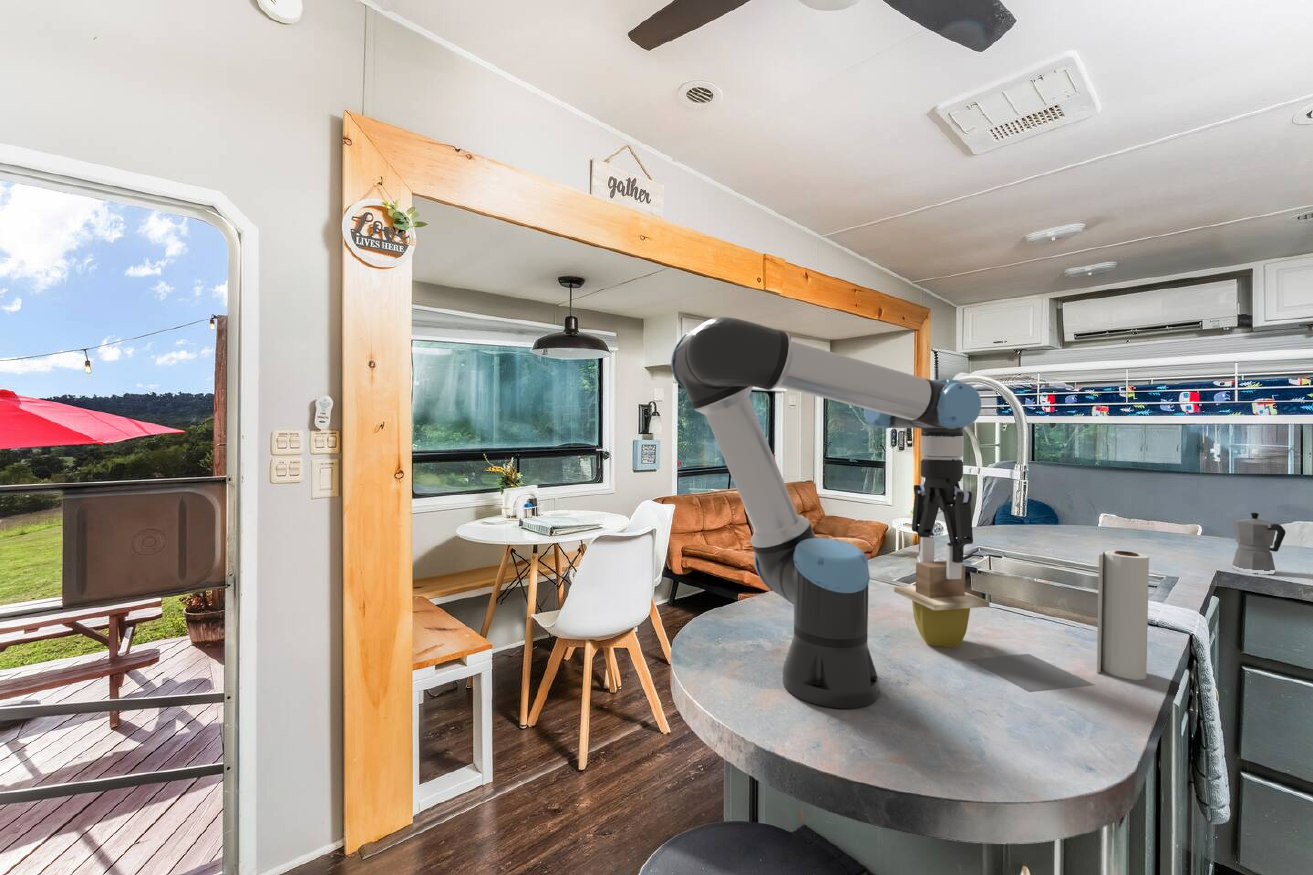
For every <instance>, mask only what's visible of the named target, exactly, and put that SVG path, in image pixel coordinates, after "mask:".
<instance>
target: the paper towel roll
mask: <svg viewBox="0 0 1313 875" xmlns="http://www.w3.org/2000/svg"><path fill="white" fill-rule="evenodd" d="M1149 570H1150V556H1149V555H1147V554H1143V553H1141V552H1140V553H1138V552H1133V551H1127V550H1105V551H1102V552H1101V553H1099V555H1098V584H1097V585H1098V593H1097V632H1096V634H1097V638H1096V641H1097V642H1096V674H1099V673H1101V672H1102V671H1101V670H1104V672H1105V673H1108V674H1110V675H1112V676H1115V677H1119V678H1122V679H1127V680H1134V681H1143V680H1146V679H1147V675H1148V673H1147V667H1148V666H1147V665H1148V624H1149V621H1148V619H1149V618H1148V617H1149V583H1150V582H1149V578H1150V577H1149V576H1150V574H1149V572H1150V571H1149Z"/></svg>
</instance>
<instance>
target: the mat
mask: <svg viewBox="0 0 1313 875" xmlns="http://www.w3.org/2000/svg"><path fill="white" fill-rule="evenodd" d="M968 660H970V661H971V662H973V663H975V664H977V665H978V666H980V667H982V668H984V669H985V670H987V671H989V672H992V673H993V674H995V675H996V676H999V677H1000V678H1003V679H1004V680H1006V681H1008V682H1010V683H1012V684H1013V685H1015V686H1017V687H1019V688H1021V689H1023V690H1024V691H1027V692H1028V693H1032V692H1033V693H1034V692H1040V691H1041V692H1043V691H1050V690H1060V689H1061V690H1063V689H1070V688H1071V689H1072V688H1079V687H1080V688H1081V687H1089V686H1096V684H1094V683H1093V682H1090V681H1088V680H1086V679H1084V678H1082V677H1080V676H1077V675H1075V674H1072V673H1071V672H1068V671H1066V670H1065V669H1062V668H1060V667H1058V666H1056V665H1054V664H1053V663H1052V664H1051V663H1050V662H1047V661H1045V660H1042V659H1041V658H1038V657H1037V656H1034V655H1032V654H1031V653H1022V654H1021V653H1020V654H1011V655H998V656H987V657H986V656H985V657H975V658H969V659H968Z"/></svg>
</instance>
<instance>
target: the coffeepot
mask: <svg viewBox="0 0 1313 875" xmlns="http://www.w3.org/2000/svg"><path fill="white" fill-rule="evenodd" d="M1259 515H1260V514H1259V513H1257V512H1250V516H1251V518H1242V519H1232V525H1233V532H1234V538H1235V542H1237V543H1238V544H1237V545H1238V548H1236V551H1235V552H1234V557H1233V560H1232V565H1234V566H1236V567H1239V568H1243V569H1252V570H1264V571H1270V570H1275V571H1276V568H1275V562H1274V558H1273V553H1272V552H1275V553H1276V552H1279V549H1280V548H1281V545H1282V542H1283V540H1284V538H1285V536H1286V529H1284V527H1283V526H1282V525H1281V524H1278V523H1273V522H1270V521H1266V520H1262V519H1259V518H1258V517H1259ZM1275 536H1276V538H1275ZM1272 546H1273V547H1272ZM1232 565H1231V566H1232Z"/></svg>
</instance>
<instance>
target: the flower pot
mask: <svg viewBox="0 0 1313 875" xmlns="http://www.w3.org/2000/svg"><path fill="white" fill-rule="evenodd" d="M911 603H912V611H913V612H912V613H913V618H914V623H915V626H916V629H917V630H918V632H919V634H920V637H921V638H922V639H923V640H924V642H925V644H926V645H927V646H931V647H943V648H954V649H956V648H957V647H959V646H960V645H961V643H962V641H963V640H964V638H965V635H966V634H967V630H968V623H969V618H970V613H971V608H963V609H949V610H932V609H930V608H928V607H926V606H924V605H921V604H919V603H917V602H915V601H913V600H911Z"/></svg>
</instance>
